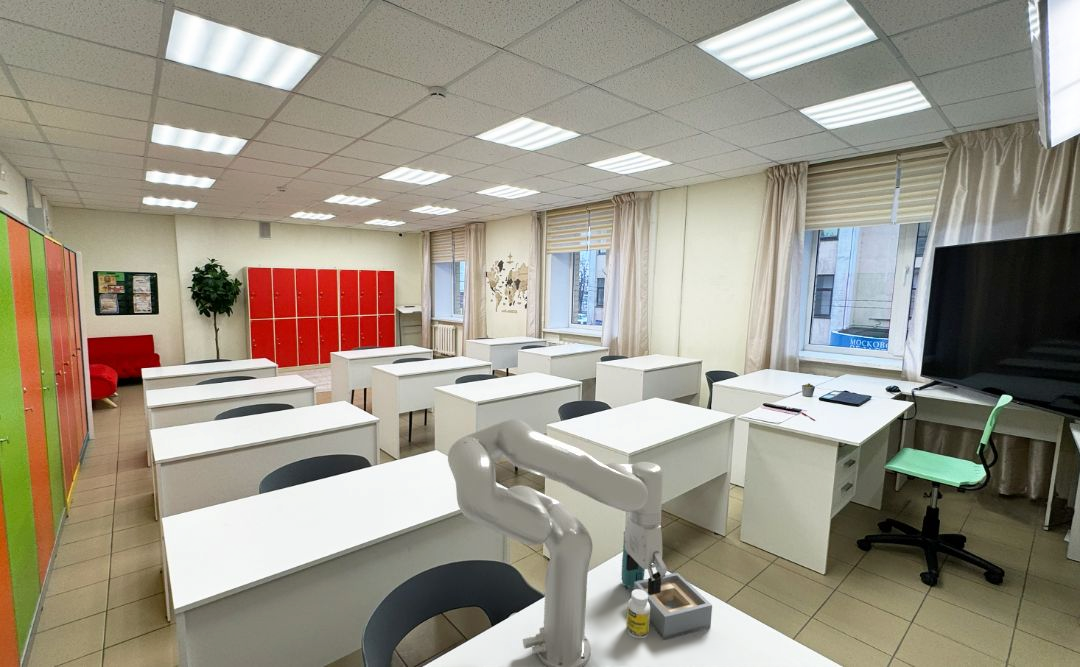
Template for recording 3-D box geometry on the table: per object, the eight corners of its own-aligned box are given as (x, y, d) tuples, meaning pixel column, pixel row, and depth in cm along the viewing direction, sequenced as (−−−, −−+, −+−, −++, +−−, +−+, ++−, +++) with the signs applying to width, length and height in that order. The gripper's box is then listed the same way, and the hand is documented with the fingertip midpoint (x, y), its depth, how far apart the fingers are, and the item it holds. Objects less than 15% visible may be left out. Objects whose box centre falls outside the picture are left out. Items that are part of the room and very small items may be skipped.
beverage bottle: (634, 596, 127) (638, 527, 125) (615, 584, 132) (619, 518, 130) (648, 587, 131) (652, 520, 129) (629, 576, 136) (633, 511, 134)
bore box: (663, 640, 111) (665, 616, 111) (632, 602, 124) (634, 581, 124) (710, 627, 116) (712, 605, 116) (676, 592, 129) (677, 572, 129)
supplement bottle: (623, 634, 113) (625, 596, 112) (630, 620, 118) (632, 584, 117) (645, 642, 110) (647, 604, 109) (651, 628, 115) (653, 591, 114)
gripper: (613, 501, 118) (611, 564, 120) (652, 535, 102) (649, 607, 104) (639, 496, 121) (636, 558, 122) (680, 529, 104) (677, 600, 106)
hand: (642, 580), depth 113 cm, fingers open, 9 cm apart
